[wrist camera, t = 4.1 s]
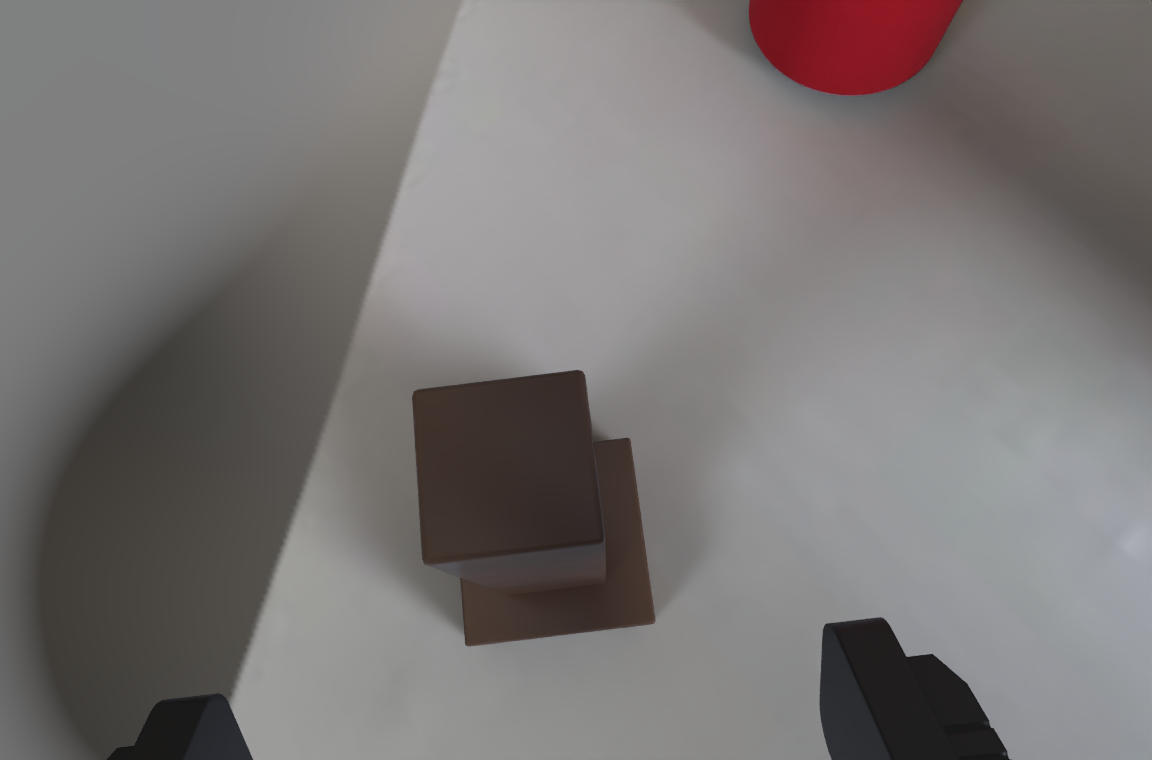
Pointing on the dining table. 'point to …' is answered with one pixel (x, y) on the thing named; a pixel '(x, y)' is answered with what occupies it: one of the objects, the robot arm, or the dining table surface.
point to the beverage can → (850, 40)
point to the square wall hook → (529, 509)
